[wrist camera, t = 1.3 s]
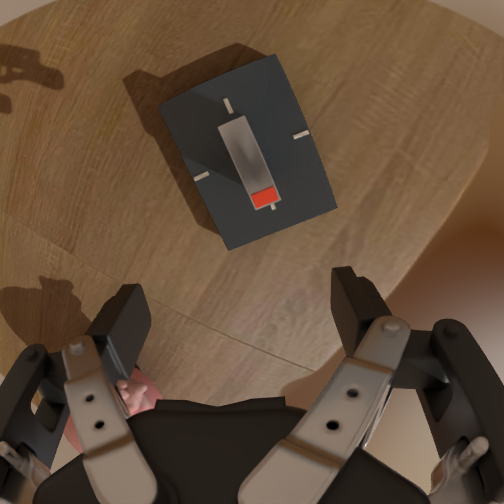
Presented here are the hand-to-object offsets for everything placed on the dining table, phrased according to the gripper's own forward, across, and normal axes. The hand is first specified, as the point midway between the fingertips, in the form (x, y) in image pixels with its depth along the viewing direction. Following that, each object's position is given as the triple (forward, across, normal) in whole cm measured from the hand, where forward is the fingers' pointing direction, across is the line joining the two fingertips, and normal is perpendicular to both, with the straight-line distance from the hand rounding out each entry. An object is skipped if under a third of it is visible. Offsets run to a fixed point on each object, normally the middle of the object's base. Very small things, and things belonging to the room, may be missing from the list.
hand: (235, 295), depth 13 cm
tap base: (+18, -1, -4) cm, 19 cm away
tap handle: (+16, -1, -4) cm, 16 cm away
